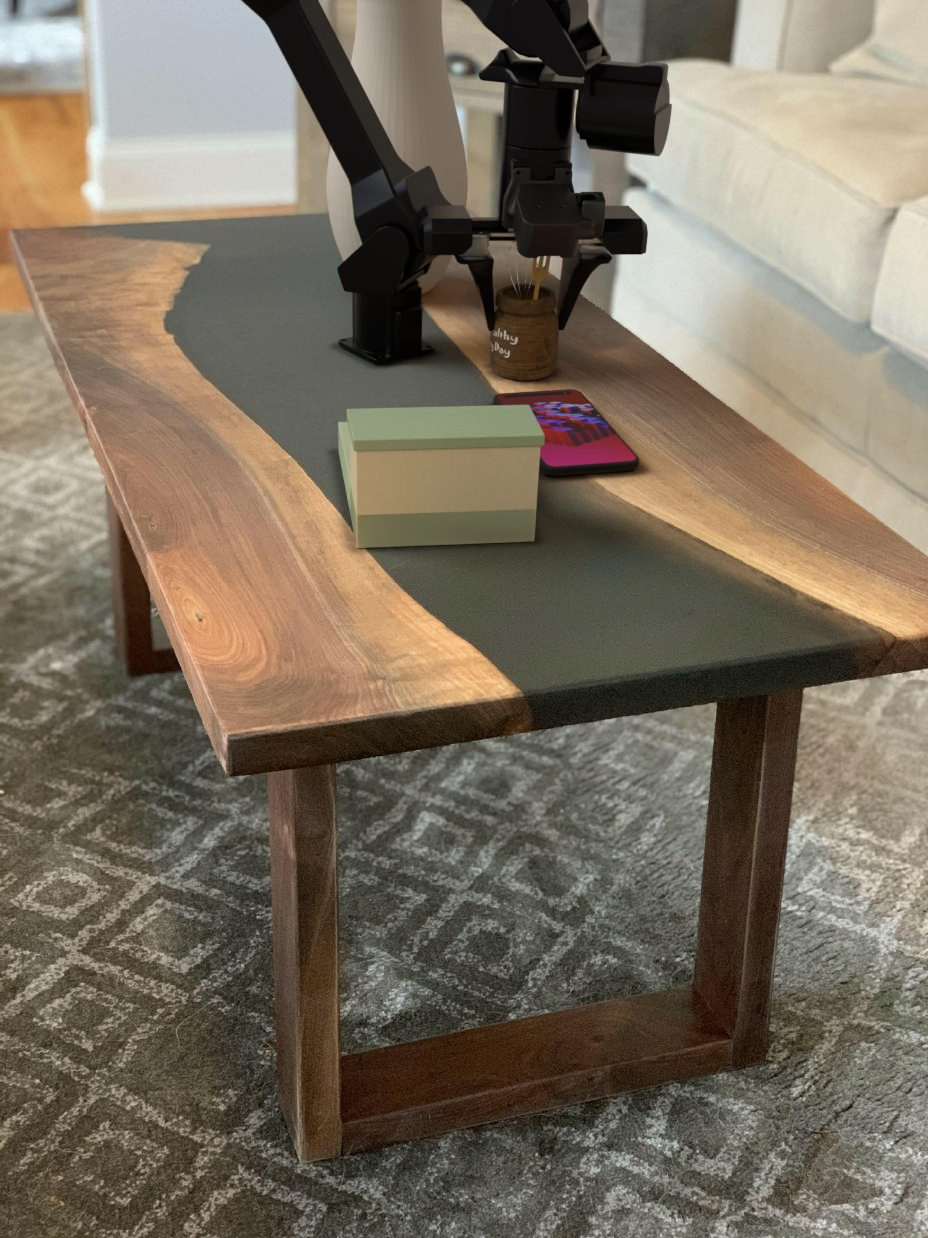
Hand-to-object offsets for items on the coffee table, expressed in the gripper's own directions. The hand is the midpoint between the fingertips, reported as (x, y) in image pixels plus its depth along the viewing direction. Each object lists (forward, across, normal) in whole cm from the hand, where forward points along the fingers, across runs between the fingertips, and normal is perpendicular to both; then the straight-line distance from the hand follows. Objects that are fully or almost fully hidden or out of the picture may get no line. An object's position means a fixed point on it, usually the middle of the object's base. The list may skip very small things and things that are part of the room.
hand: (525, 329), depth 122 cm
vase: (+4, -8, +24) cm, 26 cm away
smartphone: (+4, 0, -15) cm, 15 cm away
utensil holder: (+4, 0, 0) cm, 4 cm away
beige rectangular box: (+4, -11, -25) cm, 27 cm away
